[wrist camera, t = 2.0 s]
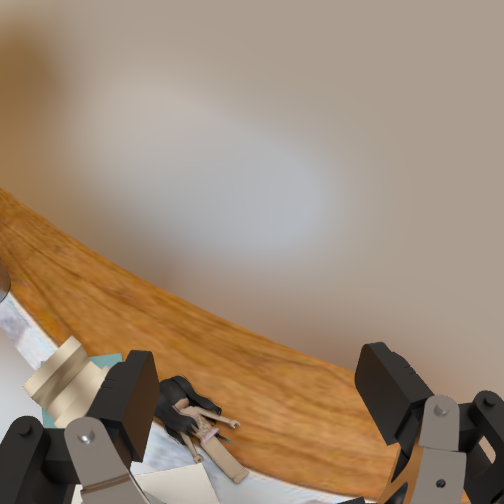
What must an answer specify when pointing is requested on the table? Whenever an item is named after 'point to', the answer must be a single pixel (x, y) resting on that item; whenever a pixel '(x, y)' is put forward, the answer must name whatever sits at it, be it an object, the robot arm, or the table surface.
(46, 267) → the table surface
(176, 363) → the table surface
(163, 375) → the table surface
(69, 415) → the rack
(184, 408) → the toy figure
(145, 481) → the cream flat block
